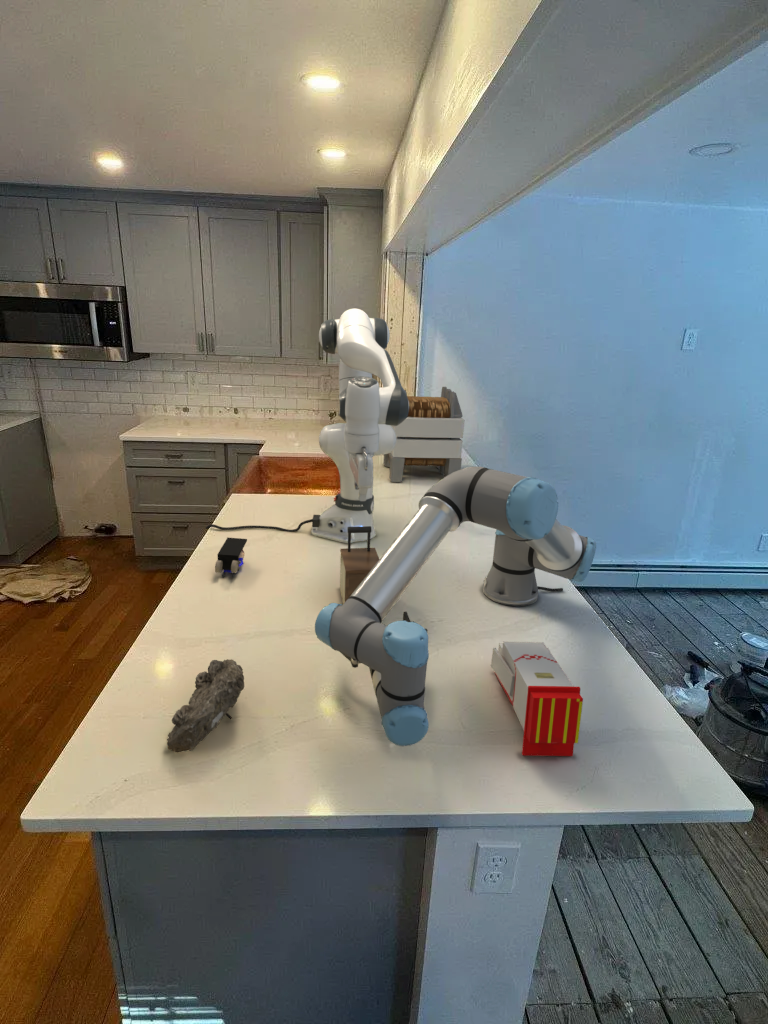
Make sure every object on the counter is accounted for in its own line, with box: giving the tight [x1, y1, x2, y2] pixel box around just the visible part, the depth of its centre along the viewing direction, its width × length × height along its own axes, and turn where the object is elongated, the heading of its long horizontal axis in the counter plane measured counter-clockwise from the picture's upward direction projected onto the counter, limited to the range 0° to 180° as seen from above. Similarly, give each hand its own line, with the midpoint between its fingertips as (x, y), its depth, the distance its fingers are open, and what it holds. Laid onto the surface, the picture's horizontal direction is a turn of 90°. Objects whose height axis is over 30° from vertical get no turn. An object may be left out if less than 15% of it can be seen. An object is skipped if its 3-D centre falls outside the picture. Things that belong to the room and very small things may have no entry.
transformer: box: [383, 386, 465, 483], centre depth 268 cm, size 34×33×41 cm
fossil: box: [166, 658, 245, 754], centre depth 106 cm, size 22×10×15 cm
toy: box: [490, 641, 584, 757], centre depth 113 cm, size 12×13×30 cm
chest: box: [339, 556, 368, 605], centre depth 152 cm, size 13×10×11 cm
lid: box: [339, 526, 380, 574], centre depth 149 cm, size 14×10×8 cm
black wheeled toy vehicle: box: [214, 537, 248, 578], centre depth 166 cm, size 7×8×15 cm
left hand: (360, 494), depth 149 cm, fingers open, 8 cm apart
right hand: (374, 617), depth 126 cm, fingers open, 13 cm apart
